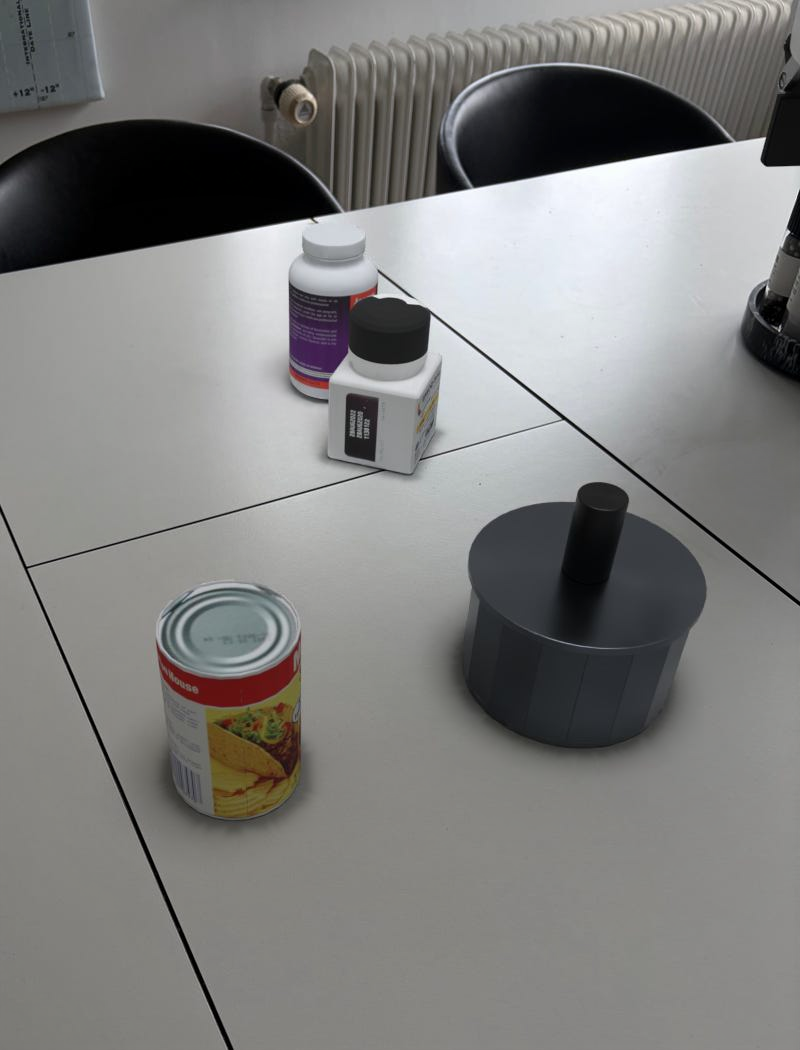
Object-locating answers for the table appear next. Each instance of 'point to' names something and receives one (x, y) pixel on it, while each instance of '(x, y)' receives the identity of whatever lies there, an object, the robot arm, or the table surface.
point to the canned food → (232, 696)
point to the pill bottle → (325, 301)
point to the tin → (563, 685)
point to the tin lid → (587, 575)
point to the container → (385, 386)
